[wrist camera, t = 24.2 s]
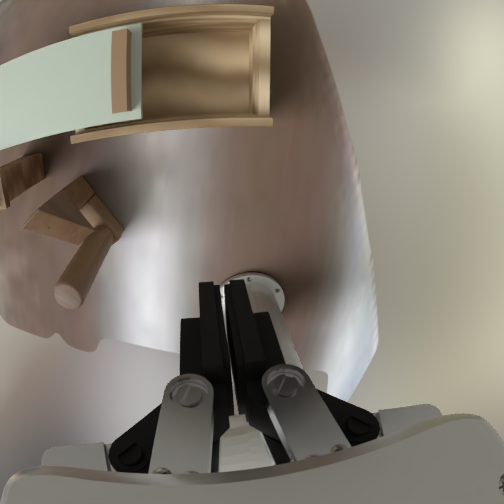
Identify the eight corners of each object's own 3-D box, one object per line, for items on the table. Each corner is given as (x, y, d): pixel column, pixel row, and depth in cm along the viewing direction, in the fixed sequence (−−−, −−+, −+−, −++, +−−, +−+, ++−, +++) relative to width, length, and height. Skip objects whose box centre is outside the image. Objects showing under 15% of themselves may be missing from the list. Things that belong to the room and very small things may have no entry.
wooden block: (82, 174, 37) (20, 222, 21) (125, 228, 42) (91, 302, 26) (66, 189, 37) (4, 243, 21) (109, 241, 42) (71, 317, 27)
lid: (142, 118, 28) (137, 119, 25) (-3, 150, 25) (-15, 155, 22) (142, 24, 22) (137, 18, 20) (-6, 70, 19) (-19, 70, 17)
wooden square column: (47, 180, 36) (6, 208, 25) (24, 184, 35) (-19, 212, 24) (43, 149, 33) (-1, 169, 23) (20, 154, 33) (-26, 176, 22)
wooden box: (256, 121, 38) (272, 126, 29) (98, 134, 34) (71, 144, 26) (257, 26, 31) (273, 6, 23) (96, 40, 28) (69, 26, 19)
